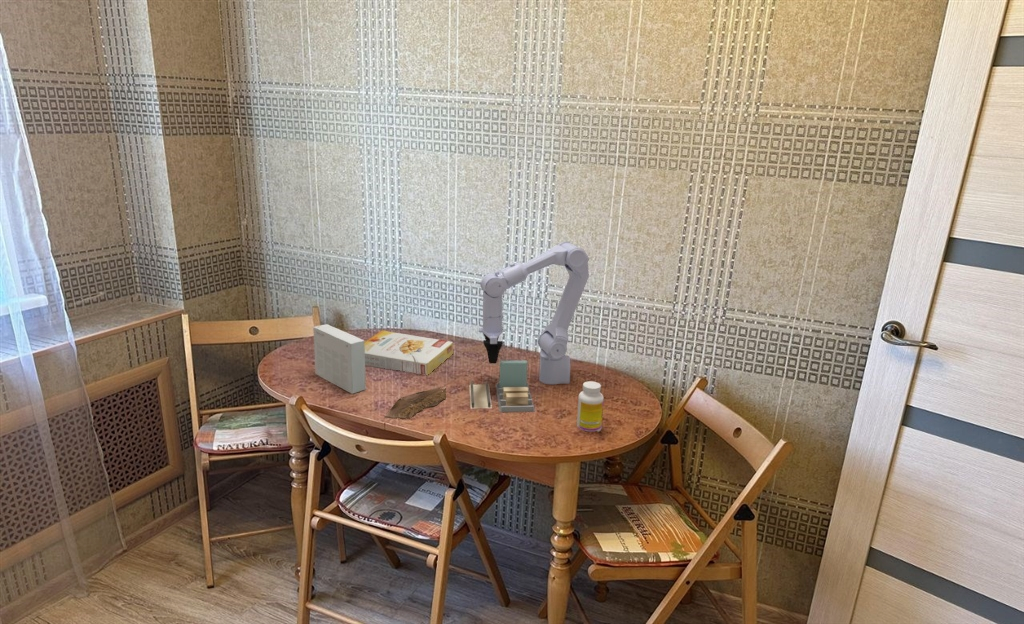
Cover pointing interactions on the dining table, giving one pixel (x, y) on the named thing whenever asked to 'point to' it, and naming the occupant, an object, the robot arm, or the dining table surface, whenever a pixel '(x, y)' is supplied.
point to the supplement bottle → (590, 407)
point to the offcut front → (516, 399)
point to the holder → (480, 396)
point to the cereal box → (406, 352)
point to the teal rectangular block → (513, 374)
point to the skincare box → (339, 358)
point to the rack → (513, 408)
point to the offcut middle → (514, 390)
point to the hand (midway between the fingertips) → (492, 358)
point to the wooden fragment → (416, 403)
